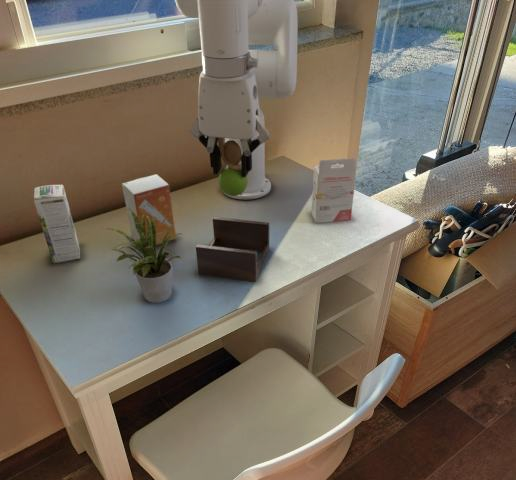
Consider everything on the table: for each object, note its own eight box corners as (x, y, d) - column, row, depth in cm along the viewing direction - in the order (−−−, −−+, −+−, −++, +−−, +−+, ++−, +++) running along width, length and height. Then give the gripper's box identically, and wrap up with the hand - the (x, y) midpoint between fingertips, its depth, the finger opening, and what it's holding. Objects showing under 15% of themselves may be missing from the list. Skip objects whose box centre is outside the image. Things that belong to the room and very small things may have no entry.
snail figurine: (231, 183, 102) (228, 121, 93) (253, 194, 98) (252, 130, 90) (210, 192, 99) (205, 129, 91) (232, 204, 95) (229, 139, 87)
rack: (216, 243, 113) (213, 216, 108) (269, 249, 111) (269, 222, 106) (198, 274, 104) (195, 246, 100) (256, 282, 102) (255, 254, 97)
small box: (143, 250, 111) (132, 194, 102) (131, 238, 115) (120, 182, 106) (177, 239, 114) (169, 184, 105) (164, 227, 118) (156, 173, 109)
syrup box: (52, 250, 112) (31, 187, 102) (80, 245, 113) (62, 182, 103) (53, 264, 108) (31, 199, 98) (82, 259, 109) (63, 195, 99)
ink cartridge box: (345, 210, 123) (352, 149, 113) (351, 220, 119) (358, 158, 109) (310, 213, 122) (314, 151, 112) (314, 223, 118) (319, 161, 109)
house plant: (103, 288, 101) (83, 213, 90) (165, 264, 107) (153, 190, 96) (137, 325, 93) (119, 247, 81) (202, 296, 99) (193, 220, 87)
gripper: (282, 61, 84) (280, 167, 97) (184, 55, 87) (194, 160, 100) (272, 75, 79) (271, 186, 91) (168, 69, 82) (181, 177, 94)
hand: (231, 171), depth 95 cm, fingers closed on snail figurine, 4 cm apart
